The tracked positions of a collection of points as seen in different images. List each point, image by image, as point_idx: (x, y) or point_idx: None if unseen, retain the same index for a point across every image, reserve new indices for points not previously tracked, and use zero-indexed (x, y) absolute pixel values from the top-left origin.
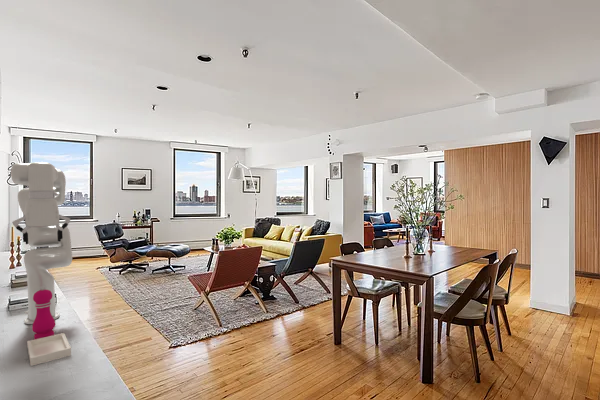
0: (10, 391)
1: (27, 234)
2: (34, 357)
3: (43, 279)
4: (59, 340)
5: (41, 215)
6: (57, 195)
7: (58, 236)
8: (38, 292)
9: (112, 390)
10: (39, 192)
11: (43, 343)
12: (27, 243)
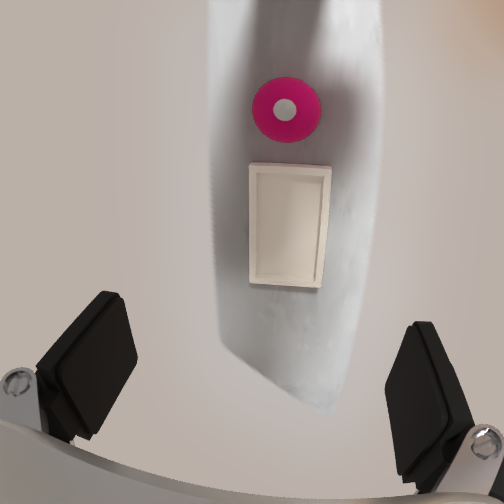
0: (224, 340)
1: (95, 427)
2: (256, 283)
3: None
4: (316, 187)
5: None
6: None
7: (393, 428)
8: (268, 123)
9: (325, 410)
10: None
11: (283, 179)
12: (131, 364)
